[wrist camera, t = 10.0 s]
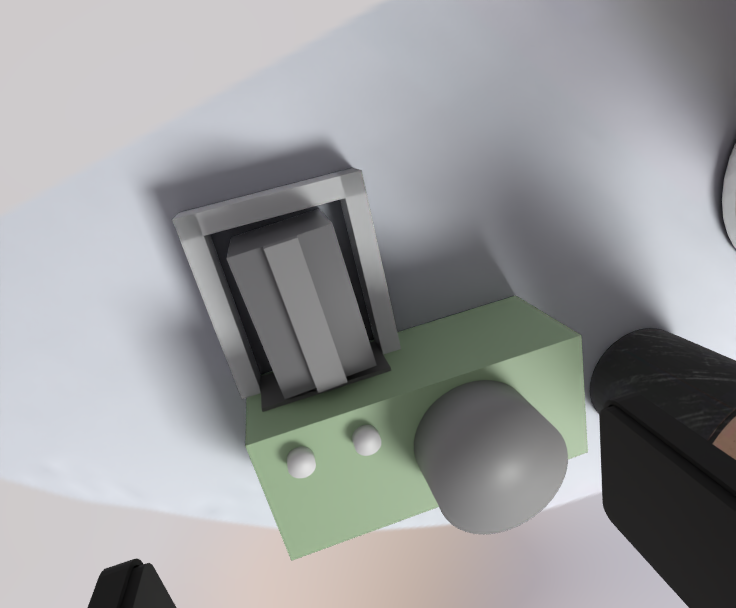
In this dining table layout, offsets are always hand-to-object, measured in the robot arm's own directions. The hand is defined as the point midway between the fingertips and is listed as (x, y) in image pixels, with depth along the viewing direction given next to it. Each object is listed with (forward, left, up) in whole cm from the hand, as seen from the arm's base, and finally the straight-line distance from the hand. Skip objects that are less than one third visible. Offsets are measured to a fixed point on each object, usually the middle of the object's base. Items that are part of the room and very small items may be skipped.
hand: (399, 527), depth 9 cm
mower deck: (-3, +3, -16) cm, 17 cm away
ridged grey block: (+1, 0, -17) cm, 17 cm away
